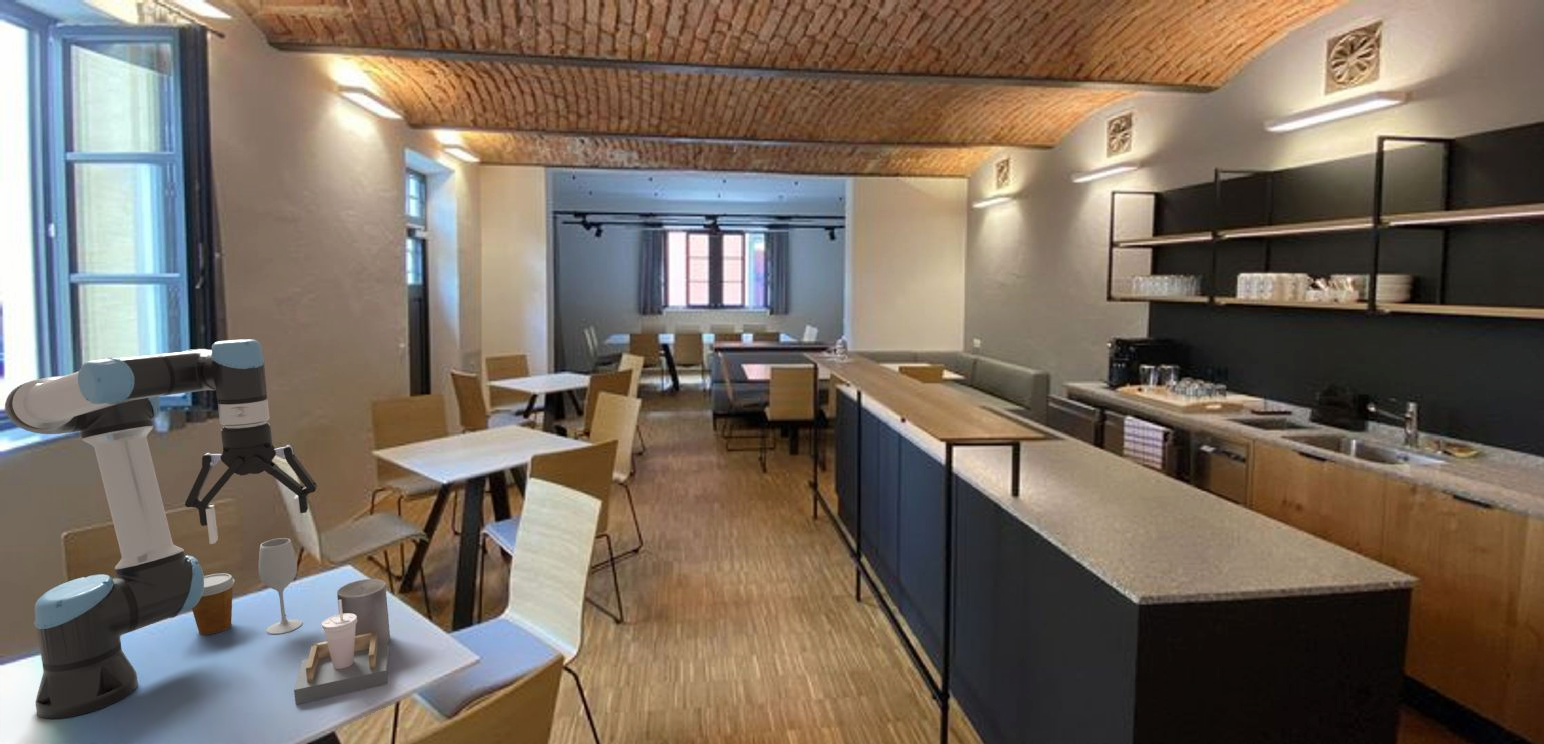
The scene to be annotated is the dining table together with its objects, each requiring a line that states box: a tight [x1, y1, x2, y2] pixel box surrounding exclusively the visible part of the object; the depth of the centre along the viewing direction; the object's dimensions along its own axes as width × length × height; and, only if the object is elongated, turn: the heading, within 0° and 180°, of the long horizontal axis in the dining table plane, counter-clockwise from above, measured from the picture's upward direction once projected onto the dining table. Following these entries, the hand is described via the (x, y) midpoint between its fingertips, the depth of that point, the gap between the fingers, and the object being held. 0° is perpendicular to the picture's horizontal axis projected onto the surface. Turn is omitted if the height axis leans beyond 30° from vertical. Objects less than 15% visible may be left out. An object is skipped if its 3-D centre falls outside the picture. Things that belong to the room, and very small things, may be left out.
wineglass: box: [258, 537, 303, 635], centre depth 180 cm, size 8×8×21 cm
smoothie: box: [321, 599, 357, 669], centre depth 156 cm, size 6×6×14 cm
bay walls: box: [306, 632, 378, 682], centre depth 158 cm, size 12×11×3 cm
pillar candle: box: [336, 578, 391, 645], centre depth 171 cm, size 10×10×15 cm
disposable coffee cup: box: [191, 572, 236, 635], centre depth 180 cm, size 10×10×12 cm
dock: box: [293, 643, 390, 705], centre depth 157 cm, size 16×13×3 cm
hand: (258, 535), depth 142 cm, fingers open, 13 cm apart
